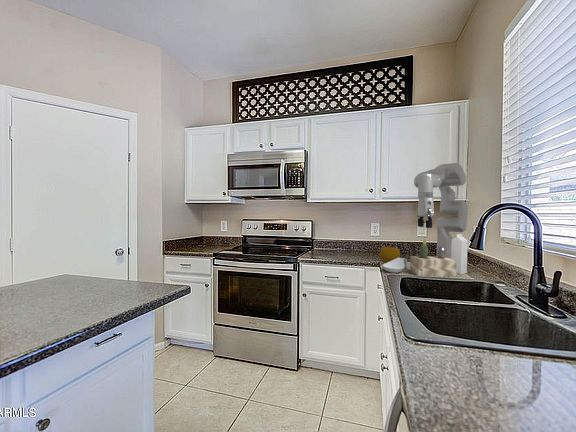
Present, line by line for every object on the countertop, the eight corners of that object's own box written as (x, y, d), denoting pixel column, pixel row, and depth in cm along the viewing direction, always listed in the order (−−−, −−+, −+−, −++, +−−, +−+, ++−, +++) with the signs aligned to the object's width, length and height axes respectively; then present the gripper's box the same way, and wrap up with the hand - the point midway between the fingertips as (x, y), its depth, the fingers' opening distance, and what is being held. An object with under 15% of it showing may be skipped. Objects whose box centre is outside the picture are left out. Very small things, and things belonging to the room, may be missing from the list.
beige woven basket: (445, 272, 171) (445, 246, 171) (456, 276, 160) (456, 248, 160) (410, 271, 171) (410, 245, 171) (418, 275, 160) (419, 247, 160)
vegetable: (424, 275, 163) (425, 238, 163) (417, 273, 167) (418, 237, 166) (429, 274, 166) (430, 237, 166) (421, 272, 169) (422, 237, 169)
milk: (450, 272, 173) (451, 233, 173) (456, 271, 176) (457, 233, 176) (461, 274, 168) (462, 234, 168) (467, 273, 171) (467, 234, 171)
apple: (379, 261, 205) (379, 245, 205) (399, 263, 201) (400, 246, 201) (378, 264, 193) (379, 247, 193) (400, 266, 189) (400, 248, 189)
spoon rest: (399, 275, 162) (399, 262, 162) (378, 272, 170) (378, 259, 170) (414, 269, 180) (414, 257, 180) (394, 267, 188) (395, 255, 188)
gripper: (440, 195, 157) (439, 228, 157) (425, 196, 174) (424, 226, 174) (425, 195, 157) (425, 228, 157) (412, 196, 174) (411, 226, 174)
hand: (424, 227), depth 166 cm, fingers open, 9 cm apart
